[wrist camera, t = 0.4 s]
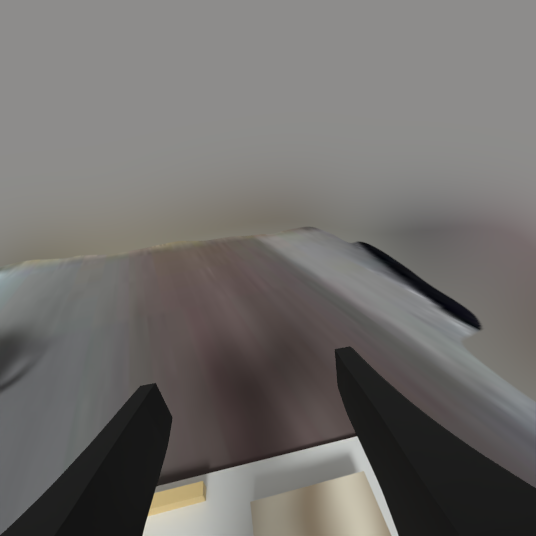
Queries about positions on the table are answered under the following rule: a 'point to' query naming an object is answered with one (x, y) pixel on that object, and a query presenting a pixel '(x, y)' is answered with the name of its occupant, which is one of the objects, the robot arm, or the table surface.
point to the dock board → (253, 490)
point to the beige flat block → (321, 510)
